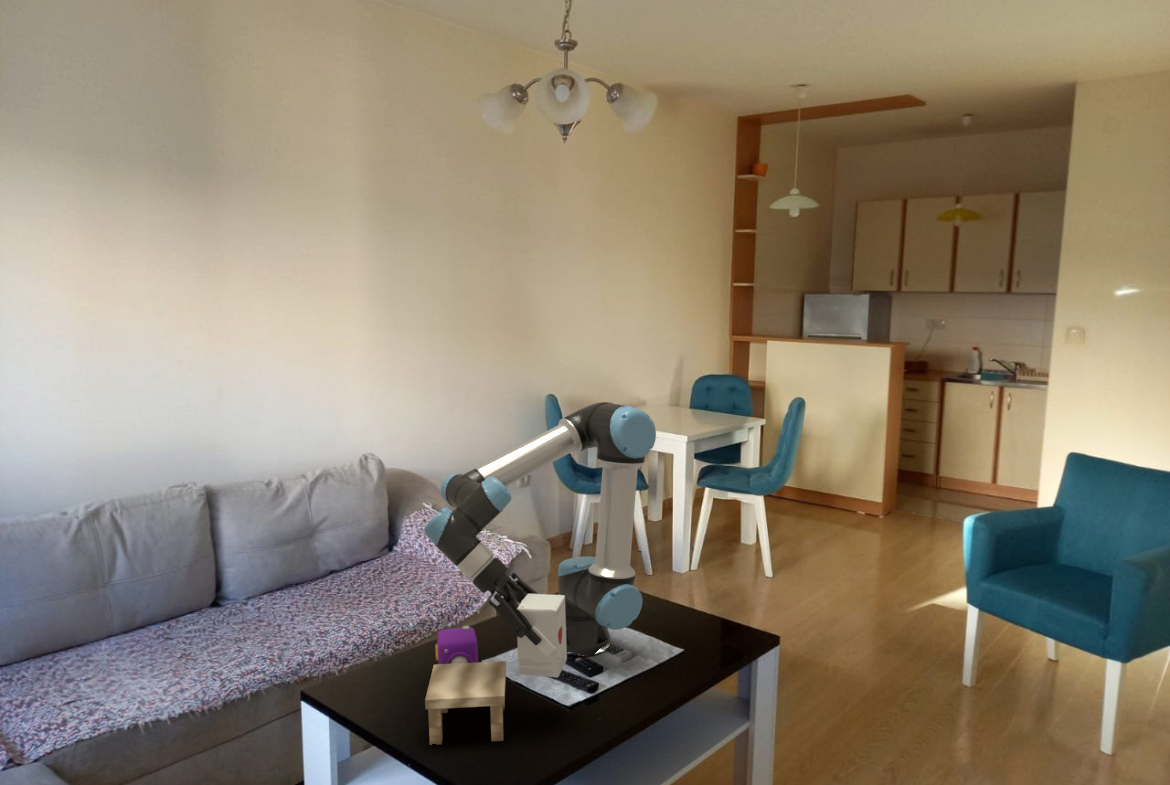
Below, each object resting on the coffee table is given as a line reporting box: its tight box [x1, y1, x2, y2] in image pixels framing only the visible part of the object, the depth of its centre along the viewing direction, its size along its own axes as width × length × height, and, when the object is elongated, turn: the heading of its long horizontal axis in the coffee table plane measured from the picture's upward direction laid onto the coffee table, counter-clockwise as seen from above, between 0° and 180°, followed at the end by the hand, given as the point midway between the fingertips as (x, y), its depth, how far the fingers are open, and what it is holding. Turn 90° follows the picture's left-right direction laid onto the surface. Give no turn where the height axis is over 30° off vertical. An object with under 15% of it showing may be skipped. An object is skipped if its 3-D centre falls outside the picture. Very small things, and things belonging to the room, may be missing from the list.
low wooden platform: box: [424, 660, 507, 746], centre depth 173 cm, size 16×16×10 cm
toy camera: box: [434, 625, 479, 664], centre depth 196 cm, size 11×14×10 cm
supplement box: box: [516, 593, 568, 678], centre depth 174 cm, size 9×9×15 cm
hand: (556, 642), depth 173 cm, fingers closed on supplement box, 9 cm apart
